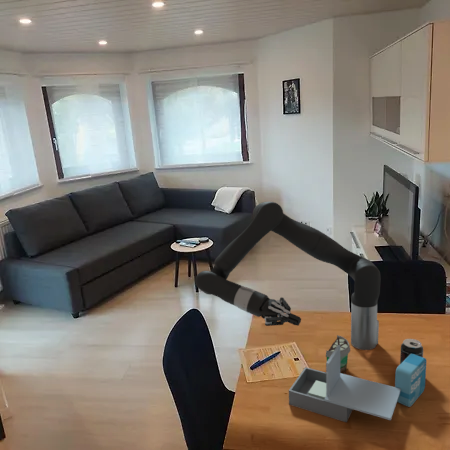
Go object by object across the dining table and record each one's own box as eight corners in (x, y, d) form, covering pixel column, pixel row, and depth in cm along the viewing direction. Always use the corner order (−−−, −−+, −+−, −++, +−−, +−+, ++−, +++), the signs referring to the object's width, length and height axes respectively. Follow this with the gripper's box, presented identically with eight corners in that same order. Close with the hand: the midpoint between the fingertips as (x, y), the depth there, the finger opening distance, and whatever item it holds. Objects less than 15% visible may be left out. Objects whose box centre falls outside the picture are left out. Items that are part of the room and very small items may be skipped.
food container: (343, 382, 146) (343, 355, 144) (325, 377, 150) (325, 351, 147) (354, 363, 156) (354, 338, 154) (337, 359, 160) (337, 334, 157)
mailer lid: (324, 400, 130) (324, 366, 127) (339, 374, 142) (339, 342, 139) (390, 420, 120) (392, 383, 117) (400, 390, 132) (402, 355, 129)
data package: (408, 409, 132) (410, 374, 129) (393, 403, 135) (395, 368, 132) (425, 390, 140) (427, 356, 137) (410, 384, 143) (412, 351, 140)
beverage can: (417, 383, 143) (419, 350, 140) (396, 376, 148) (397, 344, 145) (424, 373, 148) (426, 341, 145) (404, 366, 153) (405, 335, 149)
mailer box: (289, 404, 137) (288, 390, 136) (305, 380, 149) (305, 367, 148) (346, 422, 128) (346, 407, 127) (359, 395, 140) (359, 381, 138)
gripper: (242, 304, 138) (294, 326, 132) (260, 281, 148) (309, 301, 142) (240, 321, 143) (290, 344, 136) (258, 298, 152) (305, 318, 146)
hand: (300, 322), depth 139 cm, fingers closed
